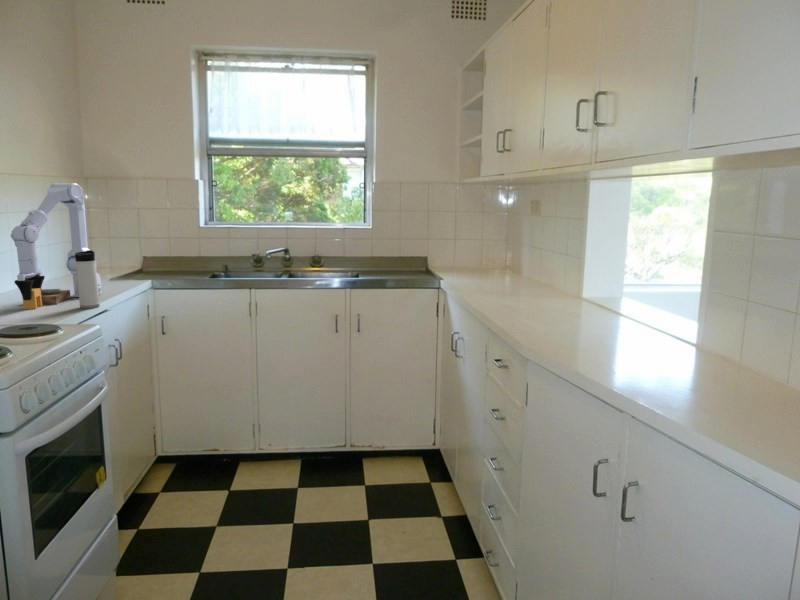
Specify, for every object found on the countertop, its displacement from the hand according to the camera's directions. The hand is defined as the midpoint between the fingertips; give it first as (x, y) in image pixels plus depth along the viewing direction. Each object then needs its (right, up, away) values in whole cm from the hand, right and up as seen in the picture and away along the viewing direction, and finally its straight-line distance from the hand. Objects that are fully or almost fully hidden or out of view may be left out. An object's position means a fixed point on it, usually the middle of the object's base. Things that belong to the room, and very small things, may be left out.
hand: (32, 298), depth 217 cm
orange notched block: (0, -3, +1) cm, 3 cm away
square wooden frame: (-1, -1, +12) cm, 12 cm away
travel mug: (+20, -3, +1) cm, 21 cm away
